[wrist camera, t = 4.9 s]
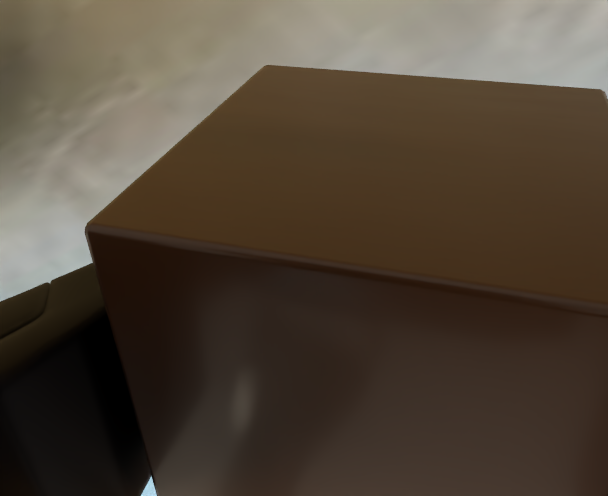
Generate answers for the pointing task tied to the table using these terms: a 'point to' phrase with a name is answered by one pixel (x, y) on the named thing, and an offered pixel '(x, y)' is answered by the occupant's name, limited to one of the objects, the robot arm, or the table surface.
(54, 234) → the table surface
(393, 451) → the block
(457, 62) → the table surface
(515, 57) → the table surface
